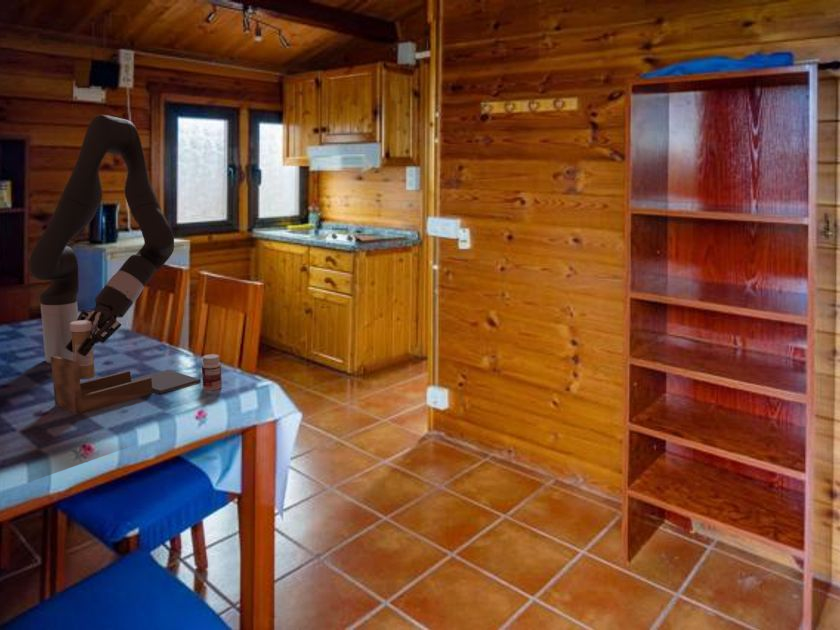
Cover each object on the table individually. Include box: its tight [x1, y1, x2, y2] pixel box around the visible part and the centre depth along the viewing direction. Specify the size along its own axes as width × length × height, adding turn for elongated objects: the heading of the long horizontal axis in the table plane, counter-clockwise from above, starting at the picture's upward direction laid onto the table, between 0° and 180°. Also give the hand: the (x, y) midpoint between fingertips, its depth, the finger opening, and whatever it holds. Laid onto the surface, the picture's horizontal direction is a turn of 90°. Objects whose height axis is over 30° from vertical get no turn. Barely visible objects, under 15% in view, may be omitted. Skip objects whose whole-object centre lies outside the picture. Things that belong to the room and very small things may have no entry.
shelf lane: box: [50, 355, 153, 415], centre depth 162 cm, size 10×19×12 cm, turn 146°
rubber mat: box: [131, 369, 202, 394], centre depth 176 cm, size 14×12×1 cm
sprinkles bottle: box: [70, 320, 96, 380], centre depth 157 cm, size 5×5×13 cm
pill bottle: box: [201, 353, 223, 391], centre depth 172 cm, size 5×5×8 cm
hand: (75, 351), depth 155 cm, fingers closed on sprinkles bottle, 4 cm apart
